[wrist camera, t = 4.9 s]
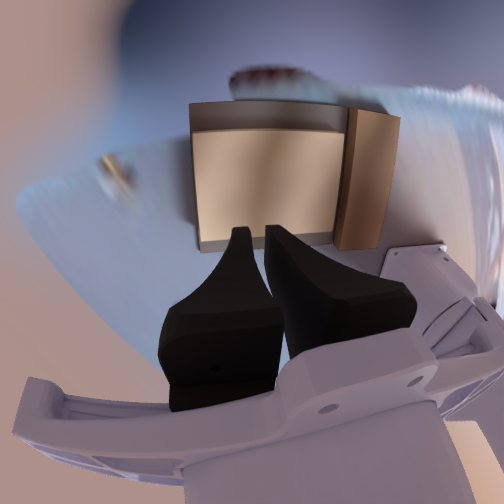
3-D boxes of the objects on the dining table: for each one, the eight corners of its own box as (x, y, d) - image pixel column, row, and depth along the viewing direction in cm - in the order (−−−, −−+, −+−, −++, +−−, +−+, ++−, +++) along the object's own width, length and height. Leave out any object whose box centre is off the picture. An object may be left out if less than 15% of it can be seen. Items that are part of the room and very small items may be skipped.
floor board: (390, 114, 18) (400, 117, 17) (369, 239, 25) (376, 248, 23) (189, 103, 16) (187, 104, 15) (200, 251, 23) (200, 261, 22)
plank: (337, 131, 18) (344, 134, 17) (326, 224, 23) (332, 231, 22) (193, 131, 17) (192, 133, 16) (200, 233, 21) (201, 241, 20)
